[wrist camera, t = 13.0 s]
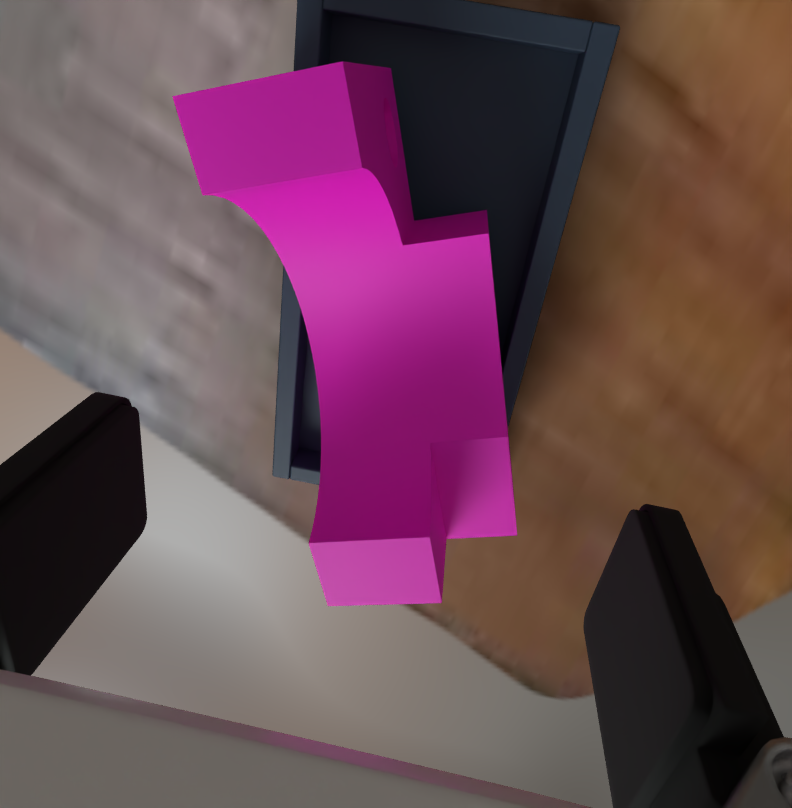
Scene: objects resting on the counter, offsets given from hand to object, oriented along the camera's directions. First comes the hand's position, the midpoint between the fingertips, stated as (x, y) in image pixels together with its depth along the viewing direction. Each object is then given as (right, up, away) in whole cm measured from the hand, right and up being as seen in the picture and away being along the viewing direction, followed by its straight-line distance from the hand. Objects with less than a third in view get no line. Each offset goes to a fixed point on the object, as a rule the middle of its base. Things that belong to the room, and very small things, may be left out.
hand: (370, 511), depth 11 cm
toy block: (+1, +6, +11) cm, 12 cm away
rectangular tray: (+1, +7, +12) cm, 14 cm away
